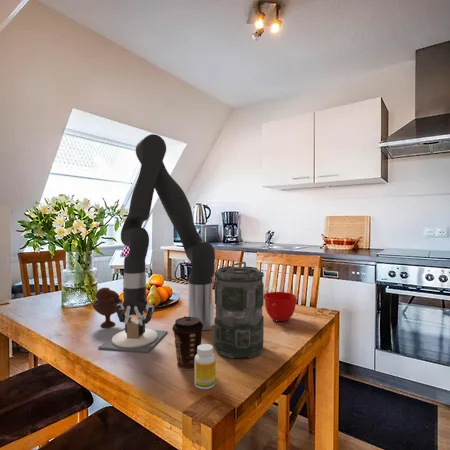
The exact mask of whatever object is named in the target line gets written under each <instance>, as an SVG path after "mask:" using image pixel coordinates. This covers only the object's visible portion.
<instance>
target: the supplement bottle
mask: <svg viewBox="0 0 450 450" xmlns="http://www.w3.org/2000/svg"><path fill="white" fill-rule="evenodd" d="M213 352H214V346H213V345H212V344H209V343H201V345H199V346H198V347H197V353H198V354H196V356H195V360H194V369H193V371H194V374H193V375H194V379H193V383H194V386H195V388H197V389H200V390H209V389H211V388H213V387H214V386H215V385H216V365H217V364H216V356H215V354H214V353H213Z"/></svg>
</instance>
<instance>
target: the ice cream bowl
mask: <svg viewBox="0 0 450 450" xmlns="http://www.w3.org/2000/svg"><path fill="white" fill-rule="evenodd" d="M95 298H96V300H94V301H92V303H91V304H92V307H93V310H94V311H95V312H97V313H98V315H99V314H100V315H101V316H104V317H105V320H104V321H103V322H102V323H101V324H100V327H101V328H103V329H107V328H108V329H109V328H112V327H115V326H116V323H115V322H114V321H112V320H111V316H112V315H114V314H115V313H117V311H116V308H115V306H116V305H118V304H122V303H123V302H124V299H121V298H120V294H119V293H118V292H116V291H115V290H113V289H111V288H109V287H101V288H98V290H97V291H96V293H95Z"/></svg>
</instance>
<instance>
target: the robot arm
mask: <svg viewBox="0 0 450 450" xmlns="http://www.w3.org/2000/svg"><path fill="white" fill-rule="evenodd" d="M135 146H136V147H135V156H136V157H137V159H138V161H139V163H140V170H139V173H138V177H137V180H136V182H135V186H134V188H133V190H132V194H131V197H130V198H131V199H130V204H129V209H128V214H127V216H126V218H125V221H124V222H123V225H122V227H121V230H120V241H121V243H122V244H123V245H124V246H126V247H127V248H129V250H128V254H127V255H125V257H124V260H123V272H124V273H123V278H122V279H123V282H122V285H123V287H122V290H123V292H122V295H123V296H122V298H123V301H122V304H118V305H116V306H115V308H116V311H117V312H116V314H117V317H118V320H119V322H120V323H124V328H125V332H126V333H127V323H128V322H130V321H131V320H132V318H133V315H134V316H136V320H139V324H140V325H139V336H142V335H143V334H144V333H145V328H146V325H147V324H148V323H149V322H151V320H152V317H153V315H154V311H155V308H156V307H155V305H154V304H153V305H150V304H148V302H147V274H146V257H147V254H148V250H149V245H150V235H149V233H148V231H147V229H146V228H144V227H143V225H144V222H146V221H148V220H149V218H150V213H151V209H152V203H153V198H154V192H156V194H157V196H158V198H159V200H160V203H161V205H162V207H163V209H164V211H165V212H166V215H167V217H168V219H169V220H170V222H171V223H172V225H173V227H174V229H175V231H176V232H177V234H178V237H179V239H180V242H181V245H182V247H183V251H184V253H185V255H186V257H187V259H188V260H189V261H190V262H191V272H190V274H189V275H188V317H189V316H190V317H197V318H199V319H200V321H201V323H202V324H203V328H202V331H208V330H209V331H210V330H212V328H213V327H214V319H215V314H214V311H215V308H214V306H215V300H213V278H214V276H215V272H216V271H215V267H216V252H215V248H214V246H213V245H212V244H211V243H210V242H207V241H203V239H202V237H201V236H200V234H199V231H197V228H196V226H195V223H194V216H193V210H192V206H191V204H190V201H189V200H188V198H187V195H186V194H185V193H186V192H184V190H183V188H182V187H181V186H180V184H179V183H177V182H176V180H175V179H174V178H173V177H172V176H171V174H170V173H169V171H168V170H167V168H166V166H165V163H164V158H165V156H166V153H167V144H166V141H165V140H164V138H163V137H161V136H160V135H158V134H155V133H151V134H148V135H146V136H144V137H143V138H141V139H140V140H139V141H138V143H137V144H136V145H135ZM124 309H125V310H124ZM145 309H146V312H147V313H146V314H145ZM125 311H126V312H125Z"/></svg>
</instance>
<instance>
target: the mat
mask: <svg viewBox="0 0 450 450" xmlns="http://www.w3.org/2000/svg"><path fill="white" fill-rule="evenodd" d="M124 330H125V327H124V328H122V329H121V330H120V331H118V332H117V333H119V332H121V331H124ZM153 330H154V331H156V332H157V339H156V340H155V341H154V342H153V343H151V344H148V345H145V346H141V347H135V348H122V347H117V346H115V345H114V344H113V343H112V337H113V336H111V337H110V338H108V339H107V340H105V342H103V343H102V344H101V345H99V346H98V347H97V349H98V350H107V351H118V352H129V353H130V352H131V353H142V354H149V353H150V352H151V351H152V350H153V349H154V347H155V346H156V345H157V344H158V343H159V342H161V340H162V339H163V338H164V337H165V336H166V335H167V334H168V330H159V329H158V330H157V329H153Z"/></svg>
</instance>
